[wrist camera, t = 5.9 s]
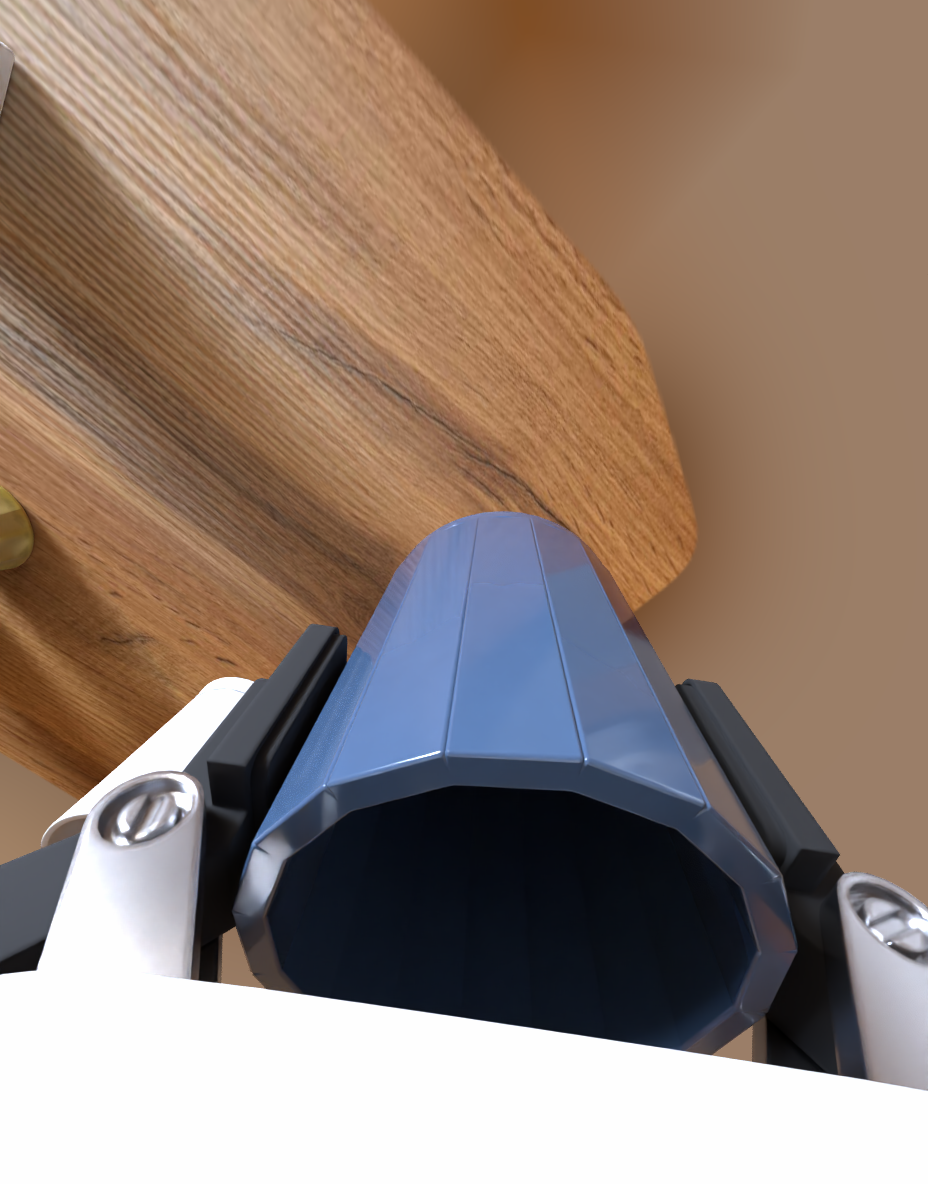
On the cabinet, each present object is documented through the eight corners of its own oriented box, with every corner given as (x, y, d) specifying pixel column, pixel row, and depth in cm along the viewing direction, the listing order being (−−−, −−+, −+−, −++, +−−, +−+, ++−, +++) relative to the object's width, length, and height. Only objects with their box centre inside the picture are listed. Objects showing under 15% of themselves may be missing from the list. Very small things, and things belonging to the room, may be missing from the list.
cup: (232, 769, 36) (120, 938, 25) (163, 691, 34) (4, 841, 23) (318, 736, 34) (238, 902, 24) (252, 650, 32) (127, 792, 21)
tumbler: (576, 472, 12) (739, 671, 4) (641, 678, 14) (826, 1068, 6) (348, 560, 14) (120, 841, 5) (442, 735, 16) (383, 1112, 8)
